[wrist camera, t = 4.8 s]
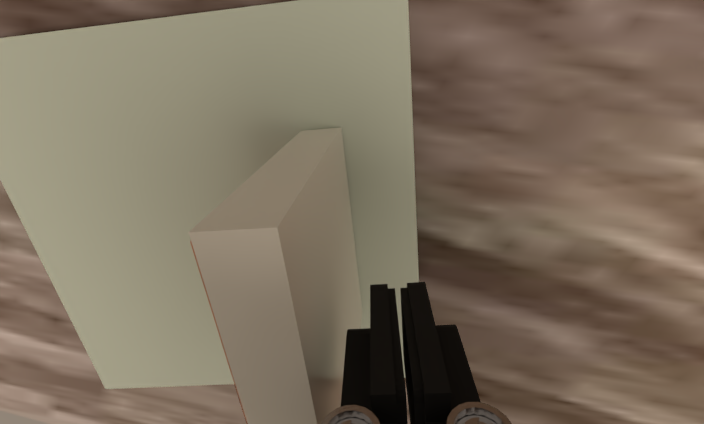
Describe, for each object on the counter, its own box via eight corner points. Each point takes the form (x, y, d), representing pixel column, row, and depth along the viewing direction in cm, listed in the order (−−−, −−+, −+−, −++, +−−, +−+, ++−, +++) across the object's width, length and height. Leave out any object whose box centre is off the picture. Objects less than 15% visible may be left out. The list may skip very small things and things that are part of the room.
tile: (341, 127, 16) (277, 227, 7) (362, 312, 20) (339, 532, 11) (294, 131, 16) (174, 233, 7) (324, 313, 20) (270, 528, 11)
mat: (406, -11, 14) (407, -14, 14) (421, 368, 22) (422, 376, 22) (-52, 46, 16) (-67, 46, 16) (111, 381, 24) (105, 388, 23)
